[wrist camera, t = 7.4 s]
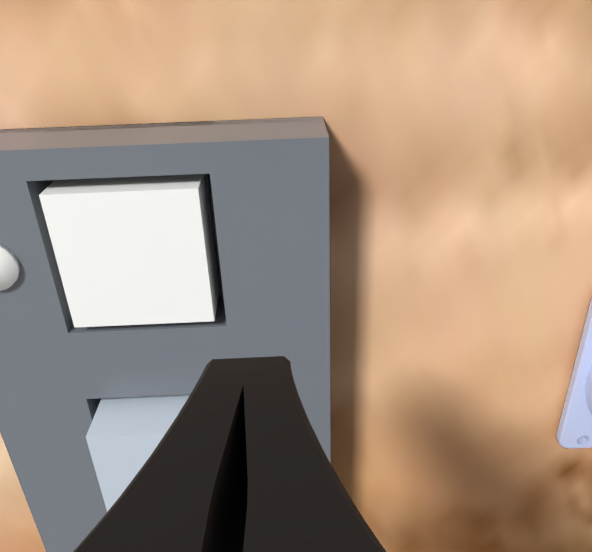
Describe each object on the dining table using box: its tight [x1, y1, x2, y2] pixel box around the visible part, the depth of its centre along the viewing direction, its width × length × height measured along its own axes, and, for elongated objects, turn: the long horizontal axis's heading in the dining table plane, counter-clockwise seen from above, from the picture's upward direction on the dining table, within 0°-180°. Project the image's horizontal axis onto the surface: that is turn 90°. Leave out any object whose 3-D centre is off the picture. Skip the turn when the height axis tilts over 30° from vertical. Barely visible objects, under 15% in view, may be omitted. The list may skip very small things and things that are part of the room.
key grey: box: [86, 394, 190, 512], centre depth 21 cm, size 4×4×2 cm
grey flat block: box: [0, 117, 331, 552], centre depth 22 cm, size 12×23×3 cm, turn 2°
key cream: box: [39, 174, 220, 327], centre depth 18 cm, size 4×4×2 cm
